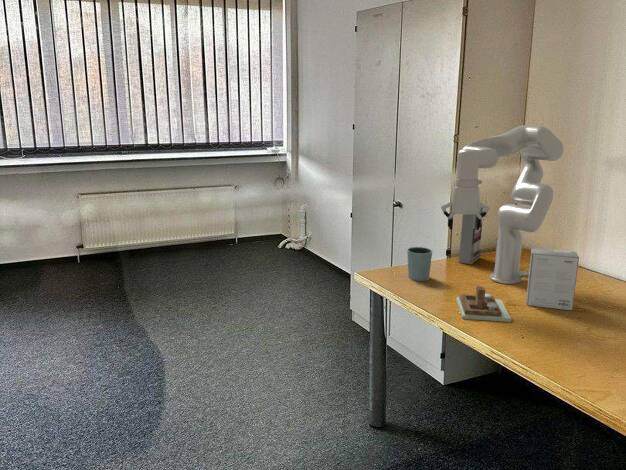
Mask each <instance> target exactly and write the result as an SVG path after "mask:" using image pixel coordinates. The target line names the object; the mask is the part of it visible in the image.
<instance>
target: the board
mask: <svg viewBox="0 0 626 470" xmlns="http://www.w3.org/2000/svg"><path fill="white" fill-rule="evenodd" d="M492 296H493V295H492V294H490V293H485V300H487V301H490V299H492ZM494 299H495V301H496V303H497V304H495V303H487V307H489V310H494V308H496V307H497V305H498V307H499V308H500V310H501V312H502V314H501V317H497V316H482V315H466V314H465V313H464V310H463V307H462V305H461V302H460V299H459V296H456V303H457V306H458V309H459V313H460V315H461V319H462V320H477V321H489V322H490V321H491V322H492V321H493V322H507V323H510V322H511V323H512V317H511V315H510V314H509V312H508V309H507V308H506V306H505V304H504V302H503V301H502V299H496V298H494ZM474 301H475V300H474ZM472 310H482V309H472Z"/></svg>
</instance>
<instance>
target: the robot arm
mask: <svg viewBox="0 0 626 470" xmlns="http://www.w3.org/2000/svg"><path fill="white" fill-rule="evenodd" d="M563 144H564V143H563V142H562V141H561V139H560V138H559V137H557V136H556V134H555V133H553V132H552V131H551V130H550V129H549V128H548V127H545V126H543V125H527V124H526V125H524V124H523V125H518V126H516V127H514V128H513V129H512V128H511V129H510V130H508V131H507V132H504V133H502V134H500V135H495V136H491V137H490V136H489V137H487V138H486V137H485V138H482V139H479V140H478V139H477V140H475V141H472V142H470V143H468V144H467V145H465V146H464V147H463V148H462V149H459V150H458V152H457V162H456V178H455V185H454V186H453V188H452V193H451V197H450V198H451V199H450V202H447V203H446V204H442V205H441V206H440V208H441V211H442V213H443V215H444V216H445V217H447V228H448V229H449V230H453V223H454V222H453V221H454V219H453V217H454V216H455V215H463V214H476V216H477V218H476V225H475V228H476V229H477V230H479V227H481V219H482V218H483V219H484V217H485V216H486V215H487V213H488V212H489V210H490V207H489V206H488V205H486V204H484V203H482V202H481V194H480V187H479V185H482V184H483V183H482V182H483V181H482V180H481V179H479V178H478V177H479V170H480V169H491V168H493V167H495V166H496V165H497V164H498V162H499V158H503V157H508V156H511V155H513V154H516V153H517V152H518V151H519V153H520V157H521V163H522V164H521V165H522V167H521V172H520V174H519V176H518V178H517V180H516V182H515V184H514V186H513V189H512V191H511V195H510V196H511V197H510V199H511V200H512V201H513V202H514V203H516V204H513V203H507V204H503V205H501V206H500V207H499V209H498V211H497V213H496V221H497V222H496V223H497V241H496V248H495V249H496V250H495V261H494V269H493V272H492V273H491V274H489V278H490V280H491V281H493V282H496V283H501V284H504V285H507V284H508V285H515V284H520V283H521V282H522V280H523V279H522V278H529V272H527V271H524V270H523V271H521V270H520V264H521V255H522V247H523V246H522V245H523V236H522V233H521V231H523V232H527V233H535V232H537V231H538V230H539V229H540V228H541V226H542V225H543V222H544V220H545V218H546V216H547V213H548V212H549V209H550V207H551V206H552V203H553V198H554V191H553V188H552V187H551V186H550V185H549V184H546V183H541V182H542V179H543V177H544V171H543V167H542V165H541V163H540V161H548V162H555V161H558V160H559V159H561V158H562V156H563V154H564V145H563ZM480 207H482V208H484V209H483V212H482V213H481V214H479V212H480ZM448 208H450V212H448V211H447V209H448Z"/></svg>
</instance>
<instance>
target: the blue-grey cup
mask: <svg viewBox="0 0 626 470" xmlns="http://www.w3.org/2000/svg"><path fill="white" fill-rule="evenodd" d="M406 252H407V253H406V254H407V273H408V274H407V276H408V279H410V280H411V281H416V282H425V281H429V279H430V275H431V274H430V272H431V265H432V258H433V257H432V255H433V250H432V249H431V248H427V247H424V246H423V247H422V246H421V247H420V246H415V247H414V246H413V247H409V248H407V251H406Z"/></svg>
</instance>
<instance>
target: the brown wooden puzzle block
mask: <svg viewBox="0 0 626 470" xmlns="http://www.w3.org/2000/svg"><path fill="white" fill-rule="evenodd" d="M485 294H486V288H485V286H479V285H477V286H476V290H475V294H461V293H460V294H459V295H458V297H459V299H460V302H461V305H462V307H463V310H464V313H465V314H466V315H482V316H497V317H501V314H502V312H501V310H500V308H499V307H498V305H497V307H496V308H494V310H489V307H487V303H495V304H497V303H496V301H495V299H496V298H495V297H494V296H493V295H492V299H490V301H487V300H485ZM474 300H475V301H474ZM472 309H482V310H472Z"/></svg>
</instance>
